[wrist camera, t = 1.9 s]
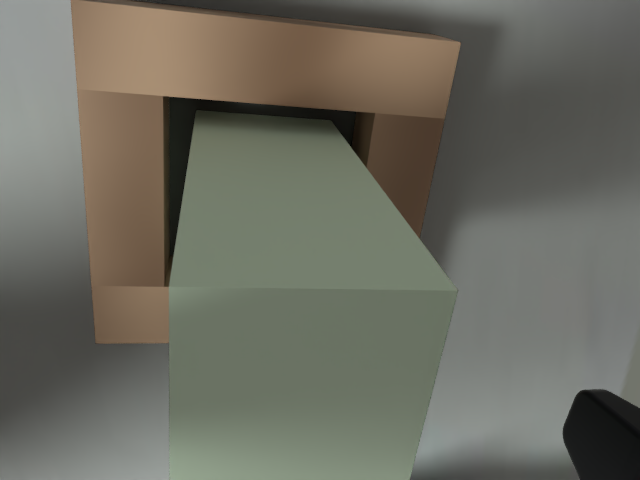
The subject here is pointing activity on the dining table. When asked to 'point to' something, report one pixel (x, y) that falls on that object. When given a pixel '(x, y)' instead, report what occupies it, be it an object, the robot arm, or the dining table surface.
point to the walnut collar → (236, 86)
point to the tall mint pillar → (296, 310)
